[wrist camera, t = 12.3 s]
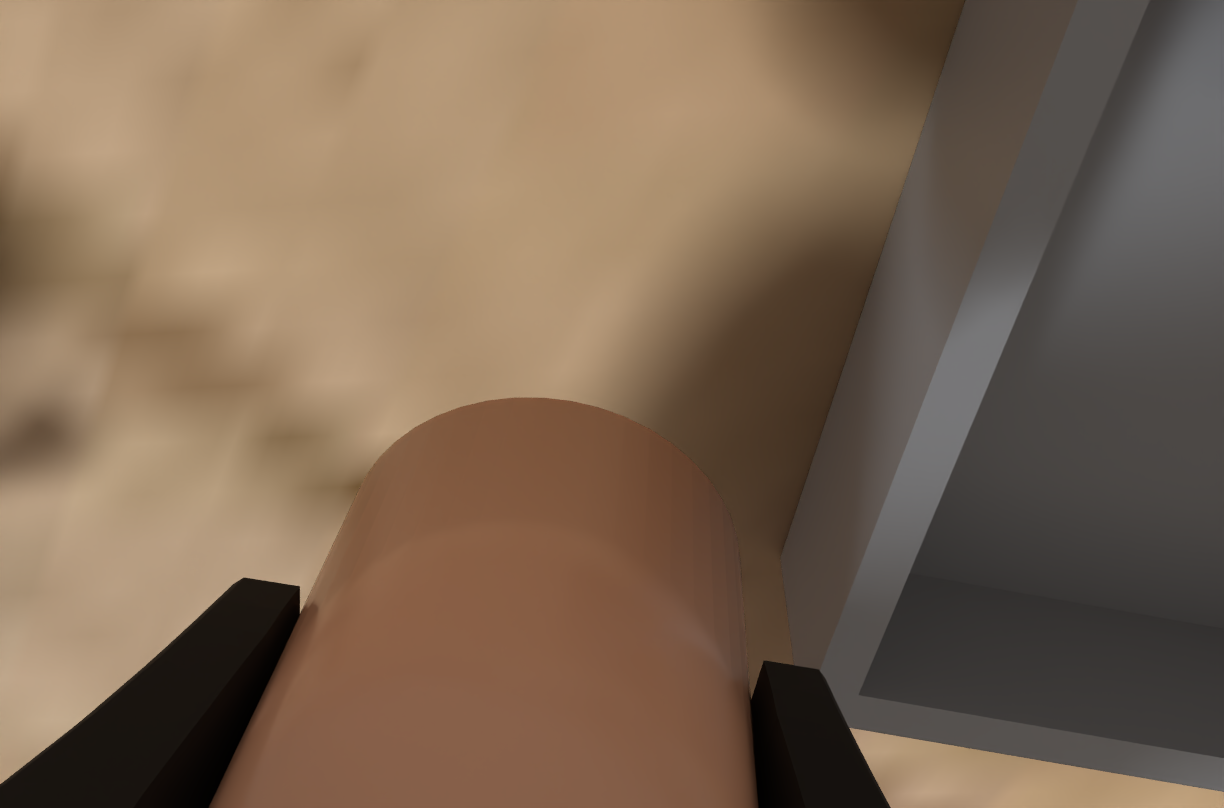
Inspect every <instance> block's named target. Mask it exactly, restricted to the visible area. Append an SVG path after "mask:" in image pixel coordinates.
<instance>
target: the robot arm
mask: <svg viewBox="0 0 1224 808" xmlns="http://www.w3.org/2000/svg"><path fill="white" fill-rule="evenodd" d="M299 615H300V586H294V585H287V584H281V583H275V582H268V581H262V580H256V579H250V578H242V579H241V580H239V581H238V582H236V583H234V584H233V585H232V586H231V587H230V588H229V589H228V590H227V591H226V592H225V593H224V594H223V595H222V596H220V597H219V598H218V599H217V600H216V601H215V602H214V603H213V604H212V605H211V606H210V607H209V608H208V609H207V610H206V611H205V612H204V613H203V614H201V615H200V616H199V617H198V618H197V619H196V620H195V621H194V622H193V623H192V624H191V625H190V626H189V627H188V628H187V629H185V630H184V631H183V632H182V633H181V634H180V635H179V636H178V637H177V638H176V639H175V640H173V641H172V642H171V643H170V644H169V645H168V646H167V647H166V648H165V649H164V650H162V651H161V652H160V653H159V654H158V655H157V656H156V657H155V658H154V659H152V660H151V661H150V662H149V663H148V664H147V665H146V666H145V667H144V668H142V669H141V670H140V671H139V672H138V673H137V674H135V675H134V676H133V677H132V678H131V679H130V680H128V681H127V682H126V683H125V684H124V685H123V686H121V687H120V688H119V689H118V690H117V691H116V692H114V693H113V694H112V695H111V696H110V697H109V698H107V699H106V700H105V701H104V702H103V703H102V704H100V705H99V706H98V707H97V708H96V709H95V710H93V711H92V712H91V713H90V714H89V715H88V716H86V717H85V718H84V719H83V720H82V721H80V722H79V723H78V724H77V725H75V726H74V727H73V728H72V729H71V730H69V731H68V732H67V733H65V734H64V735H63V736H62V737H60V738H59V739H58V740H56V741H55V742H54V743H53V744H51V745H50V746H49V747H48V748H46V749H45V750H44V751H42V752H41V753H40V754H39V755H37V756H36V757H35V758H33V759H32V760H31V761H30V762H28V763H27V764H26V765H25V766H23V767H22V768H21V769H19V770H18V771H17V772H16V773H14V774H13V775H12V776H10V777H9V778H8V779H7V780H5V781H4V782H3V783H1V784H0V808H209V806H210V803H211V801H212V799H213V797H214V795H215V793H216V791H217V789H218V787H219V784H220V782H221V780H222V778H223V776H224V774H225V772H226V770H227V767H228V765H229V763H230V761H231V759H232V757H233V755H234V753H235V751H236V748H237V746H238V744H239V742H240V740H241V738H242V736H243V734H244V731H245V729H246V727H247V725H248V723H249V721H250V719H251V717H252V715H253V712H254V710H255V708H256V706H257V704H258V702H259V700H260V698H261V695H262V693H263V691H264V689H265V687H266V685H267V683H268V681H269V679H270V676H271V674H272V672H273V670H274V668H275V666H276V664H277V662H278V659H279V657H280V655H281V653H282V651H283V649H284V647H285V645H286V643H287V640H288V638H289V636H290V634H291V632H292V630H293V628H294V626H295V623H296V621H297V619H298V617H299ZM751 709H752V722H753V736H754V749H755V762H756V776H757V789H758V802H759V808H891V807H890V806H889V804H888V802H887V800H886V798H885V796H884V795H883V793H882V791H881V789H880V787H879V785H878V783H877V782H876V780H875V778H874V776H873V774H872V772H871V770H870V768H869V766H868V764H867V762H866V760H865V758H864V756H863V755H862V753H861V751H860V749H859V747H858V745H857V743H856V741H855V739H854V737H853V735H852V733H851V731H850V729H849V727H848V725H847V723H846V721H845V718H844V716H843V714H842V712H841V710H840V708H839V706H838V704H837V702H836V700H835V698H834V696H833V693H832V691H831V689H830V687H829V685H828V683H827V681H826V679H825V677H824V676H823V674H822V673H821V672H820V670H819V669H814V668H808V667H801V666H795V665H789V664H783V663H776V662H770V661H764V662H763V665H762V668H761V671H760V674H759V677H758V680H757V684H756V687H755V690H754V693H753V696H752V699H751Z"/></svg>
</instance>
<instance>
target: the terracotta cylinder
mask: <svg viewBox="0 0 1224 808" xmlns="http://www.w3.org/2000/svg"><path fill="white" fill-rule="evenodd" d="M209 808H759V802H758V789H757V776H756V762H755V749H754V736H753V722H752V709H751V696H750V682H749V669H748V656H747V642H746V629H745V616H744V602H743V589H742V576H741V562H740V554H739V546H738V539H737V535H736V532H735V529H734V525H733V522H732V519H731V517H730V514H729V512H728V510H727V508H726V506H725V504H724V502H723V500H722V498H721V496H720V495H719V494H718V492H717V491H716V489H715V488H714V486H713V485H712V483H711V482H710V480H709V479H708V478H707V477H706V475H705V474H704V473H703V472H702V471H701V470H700V469H699V468H698V467H697V465H696V464H695V463H694V462H693V461H692V460H691V459H690V458H688V457H687V456H686V455H685V454H684V453H683V452H681V451H680V450H679V449H678V448H677V447H676V446H674V445H673V444H672V443H670V442H669V441H667V440H666V439H664V438H663V437H661V436H660V435H658V434H657V433H655V432H654V431H652V430H650V429H649V428H647V427H645V426H642V425H640V424H638V423H636V422H634V421H632V420H630V419H628V418H626V417H624V416H621V415H618V414H615V413H613V412H610V411H607V410H604V409H601V408H599V407H594V406H590V405H586V404H581V403H577V402H573V401H566V400H558V399H549V398H507V399H498V400H489V401H484V402H480V403H476V404H471V405H467V406H463V407H459V408H457V409H454V410H451V411H449V412H446V413H443V414H441V415H438V416H436V417H434V418H432V419H430V420H428V421H426V422H424V423H423V424H421V425H419V426H417V427H415V428H414V429H412V430H411V431H409V432H408V433H407V434H405V435H404V436H403V437H401V438H400V439H398V440H397V441H396V442H395V443H394V444H393V445H392V446H391V447H390V448H389V449H387V450H386V451H385V452H384V453H383V454H382V455H381V456H380V457H379V459H378V460H377V461H376V463H375V464H374V465H373V467H372V468H371V469H370V471H369V472H368V474H367V475H366V476H365V478H364V480H363V482H362V484H361V486H360V488H359V490H358V492H357V494H356V496H355V499H354V501H353V503H352V505H351V507H350V509H349V511H348V513H347V515H346V518H345V520H344V522H343V524H342V526H341V528H340V530H339V532H338V535H337V537H336V539H335V541H334V543H333V545H332V547H331V549H330V551H329V554H328V556H327V558H326V560H325V562H324V564H323V566H322V568H321V571H320V573H319V575H318V577H317V579H316V581H315V583H314V585H313V587H312V590H311V592H310V594H309V596H308V598H307V600H306V602H305V604H304V607H303V609H302V611H301V613H300V615H299V617H298V619H297V621H296V623H295V626H294V628H293V630H292V632H291V634H290V636H289V638H288V640H287V643H286V645H285V647H284V649H283V651H282V653H281V655H280V657H279V659H278V662H277V664H276V666H275V668H274V670H273V672H272V674H271V676H270V679H269V681H268V683H267V685H266V687H265V689H264V691H263V693H262V695H261V698H260V700H259V702H258V704H257V706H256V708H255V710H254V712H253V715H252V717H251V719H250V721H249V723H248V725H247V727H246V729H245V731H244V734H243V736H242V738H241V740H240V742H239V744H238V746H237V748H236V751H235V753H234V755H233V757H232V759H231V761H230V763H229V765H228V767H227V770H226V772H225V774H224V776H223V778H222V780H221V782H220V784H219V787H218V789H217V791H216V793H215V795H214V797H213V799H212V801H211V803H210V806H209Z"/></svg>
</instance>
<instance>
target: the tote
mask: <svg viewBox="0 0 1224 808" xmlns="http://www.w3.org/2000/svg"><path fill="white" fill-rule="evenodd" d="M780 560H781V568H782V576H783V583H784V591H785V599H786V607H787V615H788V622H789V630H790V638H791V646H792V654H793V662H794V665H795V666H801V667H808V668H814V669H819V670H820V672H821V673H822V674H823V676H824V677H825V679H826V681H827V683H828V685H829V687H830V689H831V691H832V693H833V696H834V698H835V700H836V702H837V704H838V706H839V708H840V710H841V712H842V714H843V716H844V718H845V721H846V723H847V725H848V727H849V728H855V729H861V730H866V731H872V732H878V733H884V734H890V735H896V736H901V737H907V738H913V739H919V740H925V741H931V742H936V743H942V744H948V745H954V746H960V747H966V748H971V749H977V750H983V751H989V752H995V753H1001V754H1006V755H1012V756H1018V757H1024V758H1030V759H1036V760H1041V761H1047V762H1053V763H1059V764H1065V765H1071V766H1076V767H1082V768H1088V769H1094V770H1100V771H1106V772H1111V773H1117V774H1123V775H1129V776H1135V777H1141V778H1147V779H1152V780H1158V781H1164V782H1170V783H1176V784H1182V785H1187V786H1193V787H1199V788H1205V789H1211V790H1217V791H1222V792H1224V0H965V3H964V6H963V9H962V12H961V15H960V18H959V21H958V24H957V27H956V30H955V33H954V36H953V39H952V42H951V45H950V48H949V51H948V54H947V57H946V60H945V63H944V66H943V69H942V72H941V76H940V79H939V82H938V85H937V88H936V91H935V94H934V97H933V100H932V103H931V106H930V109H929V112H928V115H927V118H926V121H925V124H924V127H923V130H922V133H921V136H920V139H919V142H918V145H917V148H916V151H915V154H914V157H913V160H912V163H911V166H910V169H909V172H908V175H907V178H906V181H905V184H904V187H903V190H902V193H901V196H900V199H899V202H898V205H897V208H896V211H895V214H894V217H893V220H892V223H891V226H890V229H889V232H888V235H887V238H886V241H885V244H884V247H883V250H882V253H881V256H880V259H879V262H878V265H877V268H876V271H875V274H874V277H873V280H872V283H871V286H870V289H869V292H868V295H867V298H866V301H865V304H864V307H863V310H862V313H861V316H860V319H859V322H858V325H857V328H856V331H855V334H854V337H853V340H852V343H851V346H850V349H849V352H848V355H847V358H846V361H845V364H844V367H843V371H842V374H841V377H840V380H839V383H838V386H837V389H836V392H835V395H834V398H833V401H832V404H831V407H830V410H829V413H828V416H827V419H826V422H825V425H824V428H823V431H822V434H821V437H820V440H819V443H818V446H817V449H816V452H815V455H814V458H813V461H812V464H811V467H810V470H809V473H808V476H807V479H806V482H805V485H804V488H803V491H802V494H801V497H800V500H799V503H798V506H797V509H796V512H795V515H794V518H793V521H792V524H791V527H790V530H789V533H788V536H787V539H786V542H785V545H784V548H783V551H782V554H781V557H780Z"/></svg>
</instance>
